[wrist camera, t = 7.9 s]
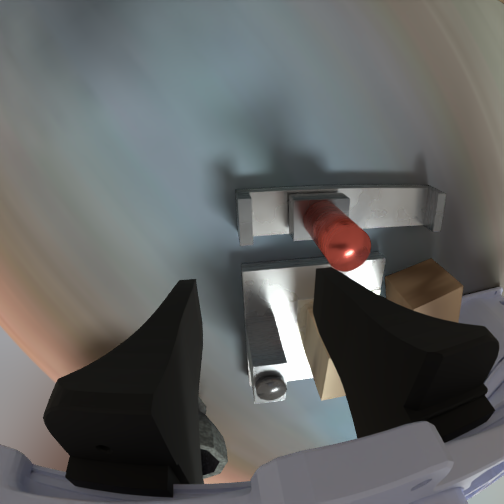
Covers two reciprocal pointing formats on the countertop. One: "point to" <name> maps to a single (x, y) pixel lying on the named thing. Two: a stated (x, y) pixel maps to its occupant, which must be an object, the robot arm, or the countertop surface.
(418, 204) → the rail
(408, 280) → the block
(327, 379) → the block
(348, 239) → the lever
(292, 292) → the press
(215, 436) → the mortar and pestle
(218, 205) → the countertop surface
